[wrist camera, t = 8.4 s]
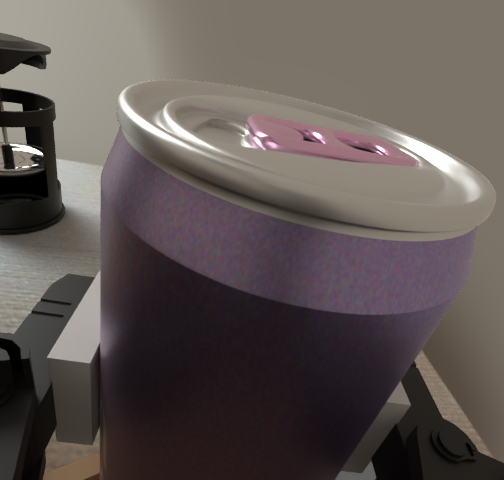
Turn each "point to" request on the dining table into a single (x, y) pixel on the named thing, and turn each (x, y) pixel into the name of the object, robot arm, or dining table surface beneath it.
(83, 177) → the dining table surface
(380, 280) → the beverage can
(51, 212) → the french press
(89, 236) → the dining table surface
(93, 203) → the dining table surface
